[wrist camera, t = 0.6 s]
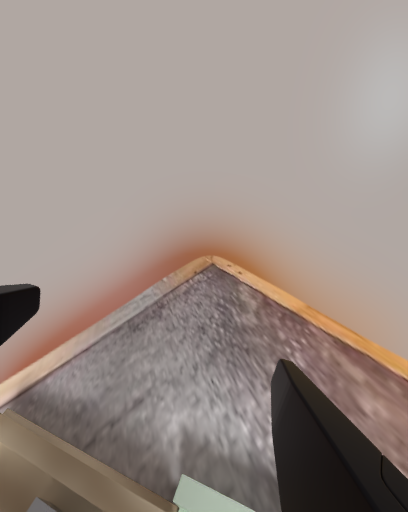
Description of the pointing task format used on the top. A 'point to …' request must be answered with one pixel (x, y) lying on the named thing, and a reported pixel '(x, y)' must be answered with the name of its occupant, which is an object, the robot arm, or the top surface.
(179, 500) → the tray
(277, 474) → the robot arm
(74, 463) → the slot board
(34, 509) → the chip
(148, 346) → the top surface
